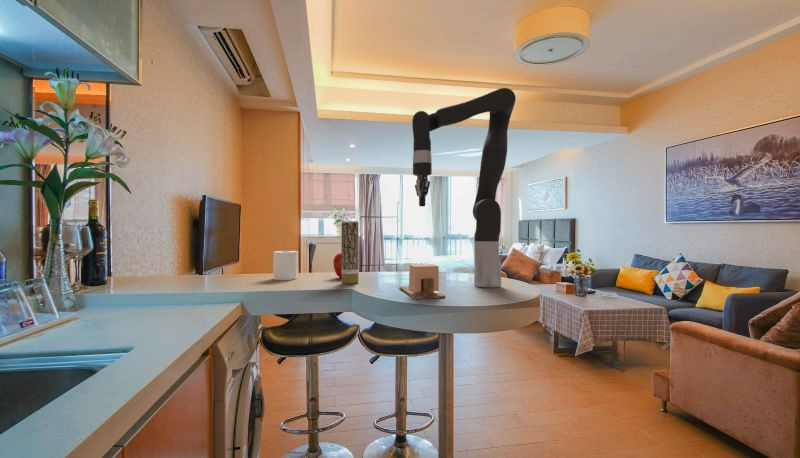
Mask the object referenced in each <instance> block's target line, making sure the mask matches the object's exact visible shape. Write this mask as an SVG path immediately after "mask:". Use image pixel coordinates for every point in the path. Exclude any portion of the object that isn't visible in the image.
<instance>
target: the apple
mask: <svg viewBox="0 0 800 458" xmlns="http://www.w3.org/2000/svg"><path fill="white" fill-rule="evenodd" d="M332 263H333V270H334V272H335V275H336V276H338V278H340V279H342V252H339V253H337V254H336V255H335V256H334V258H333V262H332Z"/></svg>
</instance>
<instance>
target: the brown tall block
mask: <svg viewBox="0 0 800 458" xmlns="http://www.w3.org/2000/svg"><path fill="white" fill-rule="evenodd" d="M359 245H360V244H359V221H356V220H354V221H353V220H349V221H348V220H342V221H341V253H342V278H341V283H342V284H343V285H354V284H358V283H359V281H360V280H359V269H360V268H359V260H360V259H359V258H360V257H359V253H360V252H359V247H360V246H359Z"/></svg>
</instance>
